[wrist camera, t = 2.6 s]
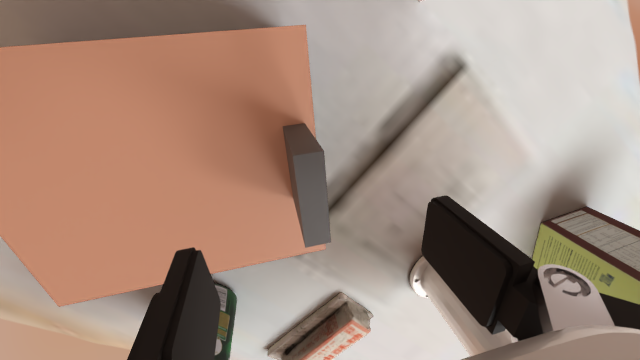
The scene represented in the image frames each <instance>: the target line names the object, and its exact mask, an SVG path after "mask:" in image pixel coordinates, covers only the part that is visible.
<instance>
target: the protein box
mask: <svg viewBox="0 0 640 360" xmlns="http://www.w3.org/2000/svg"><path fill="white" fill-rule="evenodd" d="M532 260H533V261H535V263H534V265H533V266H534V267H535V268H536V269H539V268H540V266H543V265H547V264H554V265H560V266H564V267H567V268H570V269H572V270H574V271H576V272H578V273H580V274H581V275H583V276H585V277H586V278H587V279H588V280H590V281H591V282H592V283H593V284H594V286H595V287H596V288H597V290H598V292H599V293H603V294H606V295H609V296H613V297H616V298H619V299H623V300H626V301H630V302H633V303H636V304H640V231H639V230H637V229H635V228H632V227H630V226H628V225H626V224H624V223H622V222H619V221H617V220H615V219H613V218H611V217H609V216H606V215H604V214H602V213H600V212H598V211H595V210H593V209H591V208H589V207H585V208H582V209H579V210H576V211H573V212H571V213H568V214H565V215H562V216H559V217H557V218H554V219H551V220H548V221H545V222H542V223H541V225H540V229H539V233H538V237H537V241H536V245H535V249H534V253H533V257H532Z"/></svg>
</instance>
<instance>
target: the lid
mask: <svg viewBox="0 0 640 360" xmlns="http://www.w3.org/2000/svg"><path fill="white" fill-rule="evenodd" d="M0 236H1V237H2V238H3V240H4V241H5V242H6V243H7V245H8V246H9V247H10V248H11V249H12V251H13V252H14V253H15V254H16V255H17V257H18V258H19V259H20V260H21V262H22V263H23V264H24V265H25V266H26V268H27V269H28V270H29V271H30V272H31V274H32V275H33V276H34V277H35V279H36V280H37V281H38V282H39V283H40V285H41V286H42V287H43V288H44V289H45V291H46V292H47V293H48V294H49V295H50V297H51V298H52V299H53V300H54V302H55V303H56V304H57V305H58V306H59V307H60V306H64V305H69V304H74V303H78V302H83V301H88V300H92V299H97V298H101V297H106V296H111V295H115V294H120V293H125V292H129V291H134V290H139V289H143V288H148V287H153V286H157V285H162V284H164V281H165V279H166V276H167V273H168V271H169V268H170V265H171V263H172V260H173V258H174V255H175V253H176V251H178V250H182V249H187V248H192V247H194V248H195V249H196V251H197V250H201V251H202V254H203V256H204V259H205V261H206V264H207V266H208V269H209V271H210V274H213V273H218V272H222V271H227V270H232V269H236V268H241V267H245V266H250V265H255V264H259V263H264V262H269V261H273V260H278V259H283V258H287V257H292V256H297V255H301V254H306V253H310V252H315V251H320V250H324V249H326V246H325V244H326V243H330V242H331V237H330V224H329V211H328V198H327V185H326V172H325V159H324V150H323V149H322V148H321V146H320V145H319V143H318V142H317V140H316V134H315V123H314V112H313V101H312V90H311V79H310V67H309V56H308V45H307V34H306V25H297V26H284V27H270V28H256V29H243V30H229V31H215V32H202V33H188V34H174V35H161V36H147V37H134V38H120V39H106V40H93V41H79V42H65V43H52V44H38V45H24V46H11V47H0Z"/></svg>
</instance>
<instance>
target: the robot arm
mask: <svg viewBox="0 0 640 360" xmlns="http://www.w3.org/2000/svg"><path fill="white" fill-rule="evenodd" d="M421 250H422V254H423V256H422V257H421V258H420V259H419V260H418V261H417V263H416V264H415V266H414V267H413V269H412V272H411V274H410V285H411V287H412V289H413V290H414V292H415V293H416V294H417V295H419V296H421V297H423V298H430V300H431V301H432V302H433V304H434V305H435V307H436V308H437V310H438V311H439V312H440V314H441V315H442V317H443V318H444V319H445V321H446V322H447V324H448V325H449V327H450V328H451V329H452V331H453V332H454V334H455V335H456V337H457V338H458V339H459V341H460V342H461V344H462V345H463V346H464V348H465V349H466V351H467V352H468V354H469V355H470V356H471V357H467V358H464V359H461V360H640V304H636V303H633V302H630V301H626V300H623V299H619V298H616V297H613V296H609V295H606V294H603V293H599V292H598V290H597V288H596V287H595V286H594V284H593V283H592V282H591V281H590V280H588V279H587V278H586V277H585V276H583V275H581V274H580V273H578V272H576V271H574V270H572V269H570V268H567V267H564V266H560V265H554V264H547V265H543V266H540V268H539V269H536V268H535V267H534V266H533V265H534V263H535V261H533V260H532V259H531V258H530V257H528V256H527V255H526V254H524V253H523V252H522V251H520V250H519V249H518V248H516V247H515V246H514V245H512V244H511V243H510V242H508V241H507V240H506V239H504V238H503V237H502V236H500V235H499V234H498V233H496V232H495V231H494V230H492V229H491V228H490V227H488V226H487V225H486V224H484V223H483V222H482V221H480V220H479V219H478V218H476V217H475V216H474V215H472V214H471V213H470V212H468V211H467V210H466V209H464V208H463V207H462V206H460V205H459V204H458V203H456V202H455V201H454V200H452V199H451V198H450V197H448V196H441V197H436V198H433V199H432V200H431V202H429V204H428V208H427V215H426V221H425V228H424V235H423V242H422V249H421ZM220 309H221V302H220V297H219V295H218V292H217V289H216V287H215V284H214V282H213V279H212V277H211V274H210V271H209V269H208V266H207V264H206V261H205V259H204V256H203V254H202V251H201V250H197V251H196V249H195V248H194V247H192V248H187V249H182V250H178V251H176V253H175V255H174V258H173V260H172V263H171V265H170V268H169V271H168V273H167V276H166V279H165V281H164V284H163V286H162V289H161V292H160V293H156V294H155V295H154V296H153V298H152V300H151V302H150V304H149V307H148V309H147V312H146V314H145V317H144V319H143V322H142V324H141V327H140V329H139V332H138V334H137V337H136V339H135V342H134V344H133V346H132V349H131V351H130V354H129V356H128V359H127V360H214V357H215V349H216V341H217V333H218V325H219V317H220Z"/></svg>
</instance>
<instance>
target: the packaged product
mask: <svg viewBox="0 0 640 360" xmlns="http://www.w3.org/2000/svg"><path fill="white" fill-rule="evenodd" d="M372 317H373V314H372V313H371V312H369V311H368V310H366V309H365V308H364V307H362V306H361V305H360V304H358V303H357V302H355V301H354V300H352V299H351V298H349V297H348V296H346V295H345V294H343V293H342V292H341V293H339V294H338V295H337V296H335V297H334V298H333V299H332V300H330V301H329V302H328V303H327V304H325V305H324V306H322V307H321V308H320V309H318V310H317V311H316V312H314V313H313V314H312V315H310V316H309V317H308V318H306V319H305V320H304V321H303V322H301V323H300V324H299V325H297V326H296V327H295V328H293V329H292V330H291V331H290V332H288V333H287V334H286V335H285V336H284V337H282V338H281V339H280V340H279V341H278V342H276V343H275V344H274V345H273V346H271V347H270V348H269V349H268V356H269V357H272V358H275V359H278V360H332V359H333V358H335V357H336V356H337V355H339V354H340V353H341V352H343V351H345V350H346V349H347V348H349V347H350V346H352V345H353V344H354V343H356V342H357V341H359V340H360V339H361V338H363V337H364V336H366V335H367V334H368V333H369V332H370V331H371V329H370V326H369V325H370V319H371V318H372Z"/></svg>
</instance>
